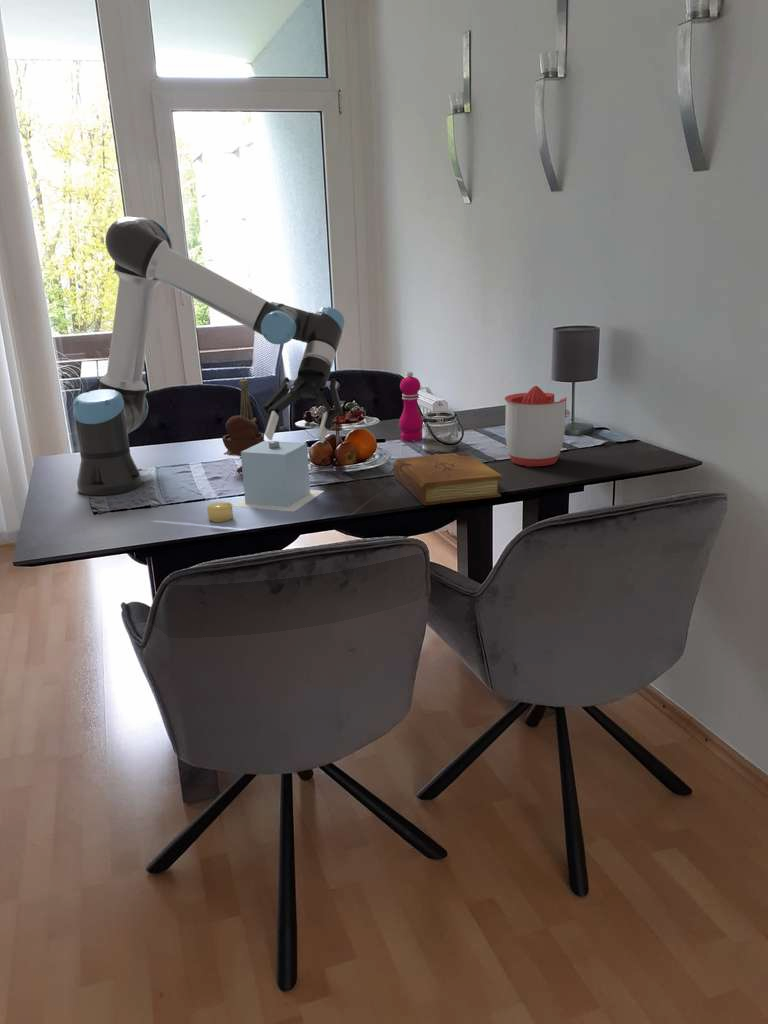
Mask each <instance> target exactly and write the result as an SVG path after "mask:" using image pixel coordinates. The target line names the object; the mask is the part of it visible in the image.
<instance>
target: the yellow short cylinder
mask: <svg viewBox="0 0 768 1024" xmlns="http://www.w3.org/2000/svg"><path fill="white" fill-rule="evenodd" d="M232 504H233V503H230V502H225V501H224V502H223V501H220V502H213V503H211V504H208V505H207V506H206V508H207V517H208V520H209V521H212V522H214V523H222V522H227V521H229V520H230V519H232V518H234V512H233V511H234V510H233V506H232Z"/></svg>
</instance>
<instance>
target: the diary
mask: <svg viewBox="0 0 768 1024" xmlns="http://www.w3.org/2000/svg"><path fill="white" fill-rule="evenodd" d="M393 471H394V473H393V475H394V476H393V477H394V478H395V479H396V480H397V481H398V482H399V483H400V484H401V485H402V486H403V487H404V488H405V489H406V490H407V491H408V492H409V493H410V494H411V495H412V496H414V497H415V498H416V500H418V501H419V502H420V503H421V505H423V506H431V505H438V504H440V503H441V504H448V503H449V504H450V503H457V502H464V501H474V500H483V499H484V500H485V499H493V498H500V497H501V496H502V494H501V493H499V492H498V485H499V484H498V480H501V479H502V474H500V473H499V472H498V471H496V470H494V469H492V468H491V467H490V466H488V465H487V464H485V463H483V462H482V461H480V460H479V459H478V458H476V457H474V456H473V455H471V454H469V453H468V452H467V451H461V452H450V453H440V454H432V455H431V454H430V455H422V456H412V457H411V456H410V457H402V458H401V457H400V458H396V459H395V461H394V462H393Z"/></svg>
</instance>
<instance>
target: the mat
mask: <svg viewBox="0 0 768 1024" xmlns="http://www.w3.org/2000/svg"><path fill="white" fill-rule="evenodd" d="M324 492H325V490H316V489H310V494H308V495H307V496H305V497H303V498H302V499H300V500H299V501H297V502H296V503H294V504H293V505H291V506H290V507H281V506H270V505H258V504H247V503H245V497H243V498H241V499H239V500H238V501H236V502H235V503H231V504H232V507H237V508H247V509H248V508H249V509H250V508H251V509H259V510H272V511H283V512H295V511H297V510H298V509H300V508H302V507H303V506H305V505H306V504H307V503H309V502H310V501H312V500H313V499H315V498H317V496H319V495H321V494H322V493H324Z"/></svg>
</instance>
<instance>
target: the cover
mask: <svg viewBox="0 0 768 1024" xmlns="http://www.w3.org/2000/svg"><path fill="white" fill-rule="evenodd" d="M240 457H241V458H240V459H241V460H240V462H241V466H242V472H241V473H242V479H243V482H242V483H243V491H244V498H245V503H247V504H258V505H270V506H281V507H290V506H291V505H293V504H294V503H296V502H297V501H299V500H300V499H302V498H303V497H305V496H307V495H308V494H310V490H311V489H310V485H311V484H310V470H309V456H308V443H307V442H295V441H293V442H292V441H291V442H290V441H278V440H265V441H263V442H261V443H259V444H256V445H254V446H252V447H250V448H248V449H246V450H244V451H242V452H241V456H240Z"/></svg>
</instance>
